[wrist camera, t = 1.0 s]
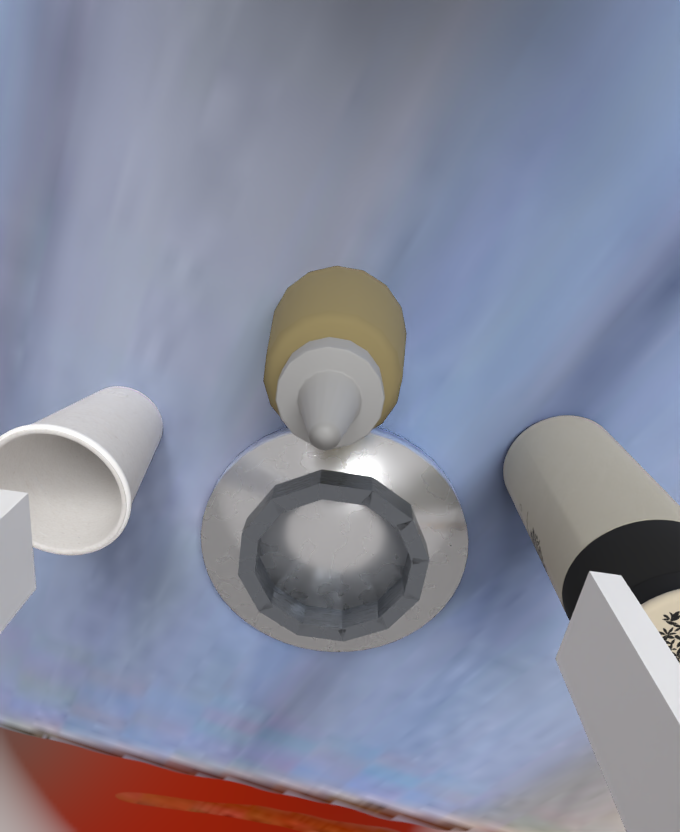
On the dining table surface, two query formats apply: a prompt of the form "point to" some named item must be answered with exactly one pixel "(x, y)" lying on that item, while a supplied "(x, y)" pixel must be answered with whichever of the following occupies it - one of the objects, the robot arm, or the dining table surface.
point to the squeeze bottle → (335, 356)
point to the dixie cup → (82, 468)
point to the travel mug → (597, 516)
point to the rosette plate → (334, 540)
